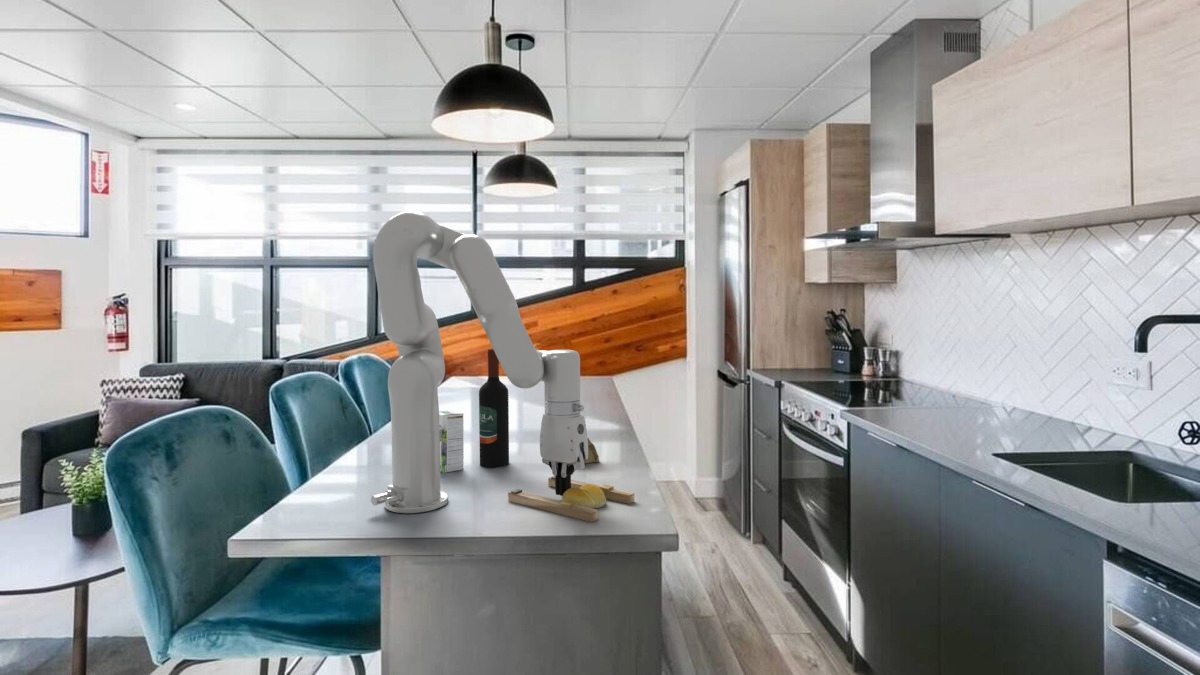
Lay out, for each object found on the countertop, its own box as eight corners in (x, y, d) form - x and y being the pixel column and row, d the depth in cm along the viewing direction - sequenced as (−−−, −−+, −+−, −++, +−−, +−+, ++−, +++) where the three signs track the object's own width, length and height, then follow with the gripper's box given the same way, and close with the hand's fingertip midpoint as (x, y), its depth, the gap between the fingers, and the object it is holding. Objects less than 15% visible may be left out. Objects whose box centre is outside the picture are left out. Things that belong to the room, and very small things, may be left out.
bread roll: (555, 503, 126) (555, 484, 126) (592, 496, 131) (592, 478, 130) (574, 515, 119) (574, 495, 119) (612, 507, 123) (612, 488, 123)
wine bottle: (512, 466, 155) (511, 349, 153) (482, 469, 152) (481, 350, 151) (505, 459, 162) (504, 348, 160) (477, 462, 159) (475, 348, 158)
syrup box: (433, 468, 153) (432, 412, 152) (454, 464, 156) (453, 409, 156) (443, 473, 148) (442, 415, 147) (464, 469, 152) (464, 412, 151)
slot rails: (591, 522, 114) (591, 510, 114) (508, 500, 127) (508, 490, 127) (634, 501, 127) (634, 490, 126) (554, 483, 139) (554, 473, 139)
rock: (605, 449, 163) (570, 442, 166) (603, 429, 157) (567, 421, 160) (592, 482, 155) (556, 473, 158) (590, 461, 150) (552, 453, 152)
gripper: (601, 409, 126) (601, 495, 127) (547, 402, 135) (547, 483, 135) (579, 414, 120) (580, 505, 121) (524, 407, 128) (525, 492, 129)
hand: (563, 493), depth 128 cm, fingers closed
